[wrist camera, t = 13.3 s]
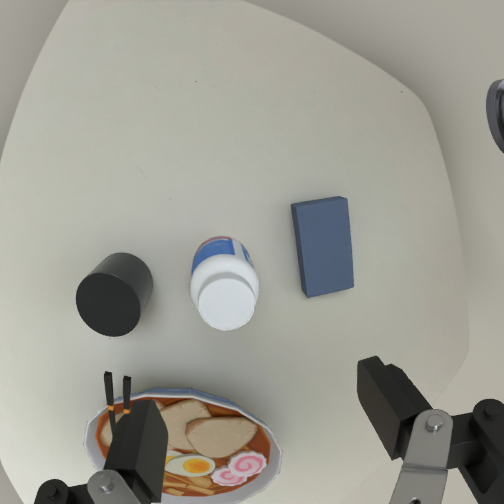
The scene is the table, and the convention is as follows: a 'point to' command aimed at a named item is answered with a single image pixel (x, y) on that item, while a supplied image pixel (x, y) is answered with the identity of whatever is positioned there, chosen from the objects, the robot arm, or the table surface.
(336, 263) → the blue rectangular block
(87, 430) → the ramen bowl
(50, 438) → the table surface
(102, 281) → the black cylinder
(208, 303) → the pill bottle
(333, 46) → the table surface
